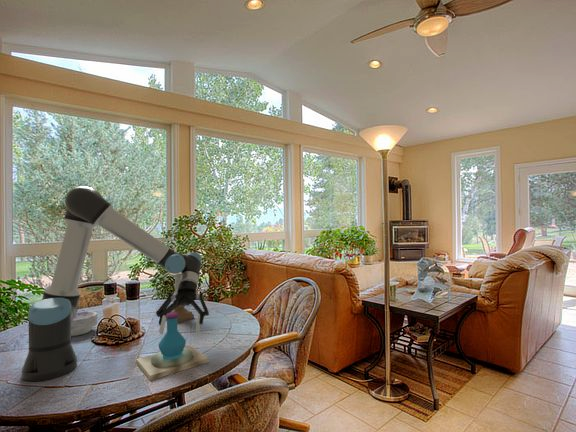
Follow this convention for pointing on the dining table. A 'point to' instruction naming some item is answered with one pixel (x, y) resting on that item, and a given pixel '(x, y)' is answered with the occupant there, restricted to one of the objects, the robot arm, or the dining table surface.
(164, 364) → the birch stand
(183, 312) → the candle holder
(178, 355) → the perfume bottle
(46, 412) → the dining table surface
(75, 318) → the paper bowls
